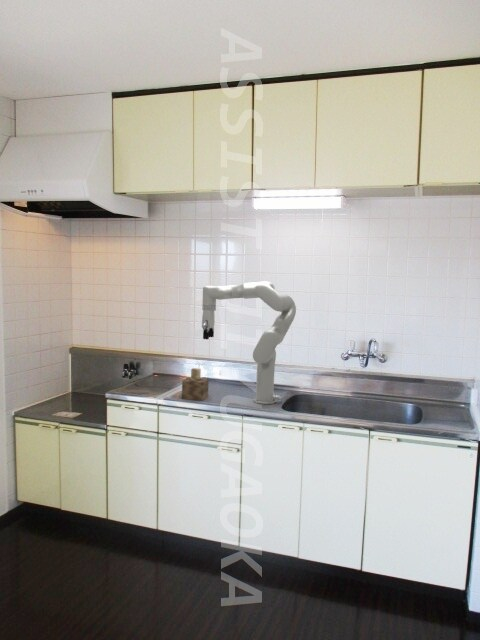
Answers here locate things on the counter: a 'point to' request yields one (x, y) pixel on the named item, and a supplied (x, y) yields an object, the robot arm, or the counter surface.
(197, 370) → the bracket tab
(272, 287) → the robot arm
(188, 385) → the brown block
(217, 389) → the counter surface
